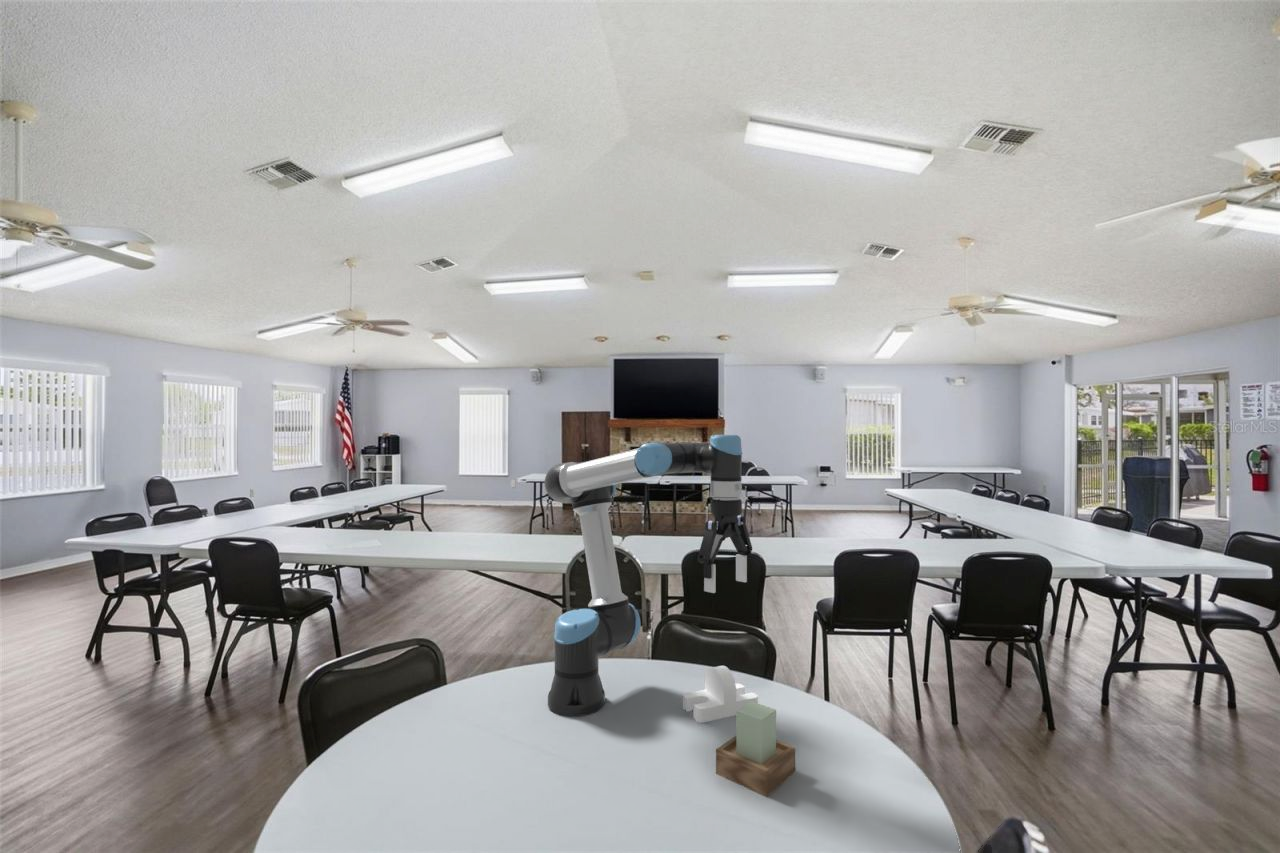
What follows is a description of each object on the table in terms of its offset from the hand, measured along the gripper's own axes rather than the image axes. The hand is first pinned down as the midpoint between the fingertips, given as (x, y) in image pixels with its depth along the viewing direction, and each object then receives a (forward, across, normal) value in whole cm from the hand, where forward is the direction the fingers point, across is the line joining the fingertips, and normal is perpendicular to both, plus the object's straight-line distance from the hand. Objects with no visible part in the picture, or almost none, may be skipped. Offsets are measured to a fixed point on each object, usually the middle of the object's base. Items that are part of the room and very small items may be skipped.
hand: (726, 586), depth 140 cm
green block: (+31, -10, -14) cm, 35 cm away
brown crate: (+35, -10, -14) cm, 39 cm away
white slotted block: (+35, +9, +8) cm, 37 cm away
